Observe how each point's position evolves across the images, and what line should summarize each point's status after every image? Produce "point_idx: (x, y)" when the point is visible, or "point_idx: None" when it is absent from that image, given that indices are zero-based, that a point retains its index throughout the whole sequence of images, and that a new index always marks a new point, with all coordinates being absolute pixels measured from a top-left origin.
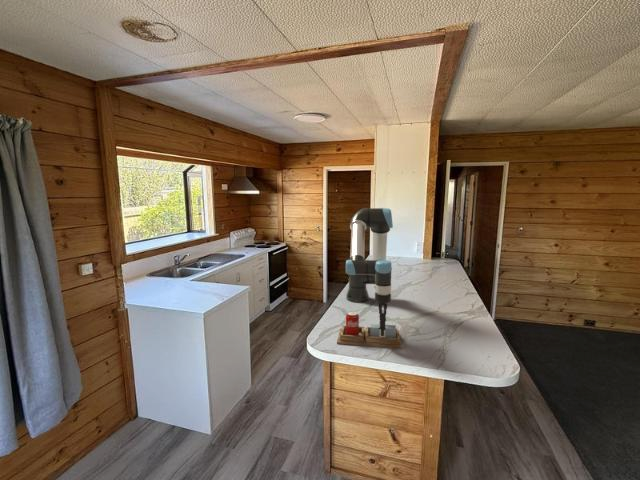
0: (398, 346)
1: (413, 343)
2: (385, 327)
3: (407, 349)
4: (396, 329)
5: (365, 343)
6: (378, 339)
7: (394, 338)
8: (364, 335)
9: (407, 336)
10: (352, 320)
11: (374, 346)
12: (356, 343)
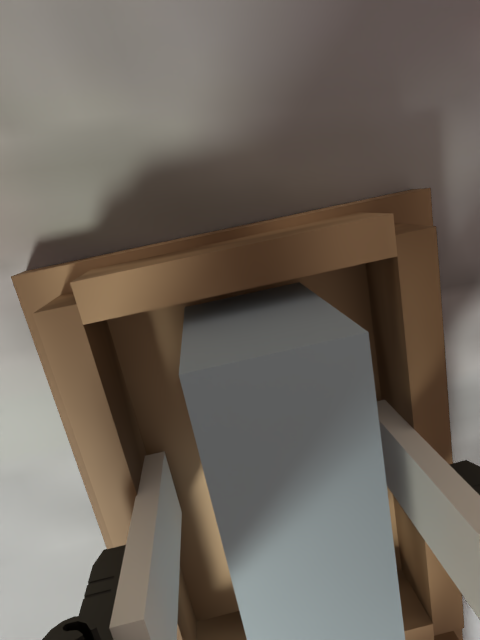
0: (429, 220)
1: (218, 21)
2: (348, 531)
3: (416, 98)
4: (66, 324)
5: None
6: None
7: (412, 299)
8: None
9: (21, 136)
10: None
11: None
12: (458, 635)
